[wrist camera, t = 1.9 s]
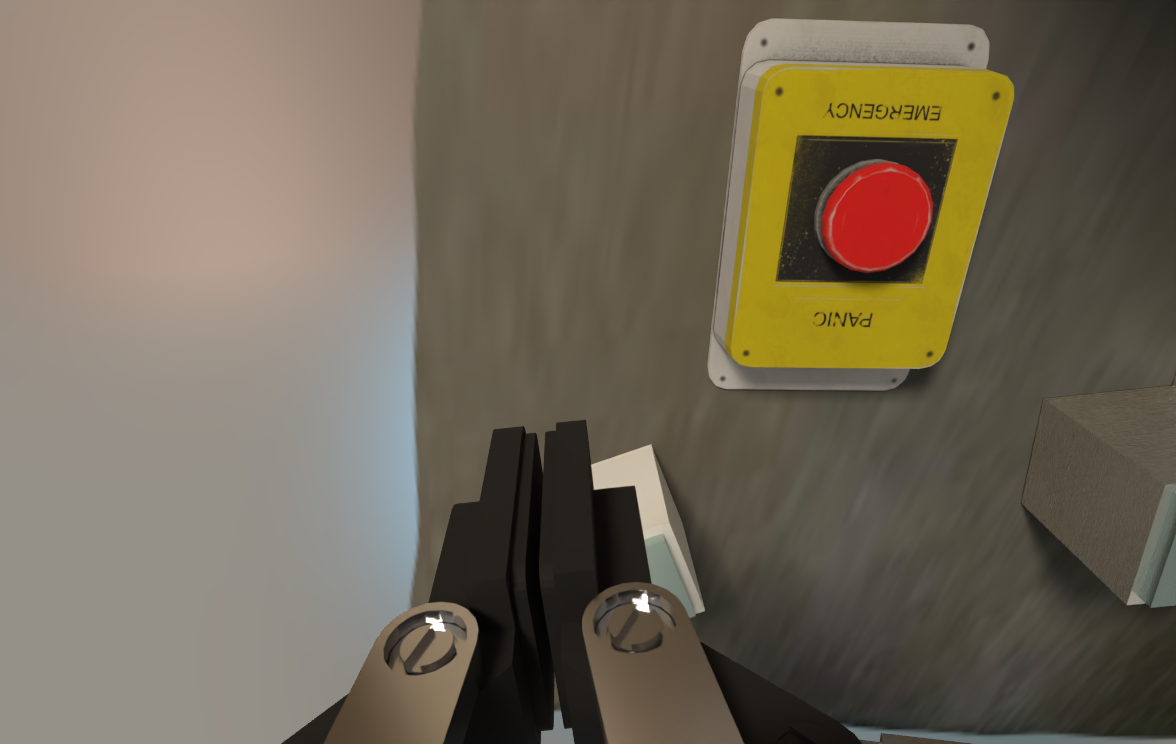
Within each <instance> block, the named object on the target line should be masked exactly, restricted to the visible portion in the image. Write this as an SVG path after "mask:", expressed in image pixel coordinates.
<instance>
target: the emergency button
mask: <svg viewBox="0 0 1176 744" xmlns="http://www.w3.org/2000/svg"><path fill="white" fill-rule="evenodd" d="M988 59H989V40H988V38H987V36H986V34H985V32H984V30H983V29H981V28H978V27H976V26H974V25H967V24H934V23H902V22H870V21H838V20H805V19H769V20H766V21H762V22H759V23H758V24H757V25H756V26H755V27H754V28H753V29H752V30H751V32H750V33H749V34H748V35H747V38H746V41H745V44H744V47H743V50H742V57H741V66H740V75H739V84H738V94H737V103H736V112H735V121H734V130H733V139H732V148H731V157H730V166H729V175H728V184H727V193H726V202H725V211H724V220H723V229H722V238H721V247H720V256H719V265H718V274H717V283H716V292H715V301H714V310H713V319H712V328H711V337H710V346H709V355H708V364H707V367H708V374H709V378H710V379H711V380H712V381H713V383H714V384H715V385H716V386H718V387H721V388H724V389H766V390H877V391H885V390H889V389H893V388H896V387H897V386H898V385H900V384H901V383H902V382H903V381H904V380H905V379H906V377H907V375H908V373H909V371H910V369H921V368H926V367H930V366H932V365H933V364H935V363H936V362H938V361H939V360H940V359H941V357H942V356H943V354H944V352H945V350H946V347H947V343H948V339H949V336H950V332H951V328H952V325H953V321H954V317H955V314H956V310H957V306H958V303H959V299H960V295H961V292H962V288H963V284H964V281H965V277H966V273H967V270H968V266H969V262H970V259H971V255H972V251H973V248H974V244H975V240H976V237H977V233H978V229H979V226H980V222H981V218H982V215H983V211H984V207H985V204H986V200H987V196H988V193H989V189H990V185H991V182H992V178H993V174H994V171H995V167H996V163H997V159H998V156H999V152H1000V148H1001V145H1002V141H1003V137H1004V134H1005V130H1006V126H1007V123H1008V119H1009V115H1010V112H1011V108H1012V104H1013V101H1014V85H1013V84H1012V82H1011V81H1010V80H1009V78H1008V77H1007V76H1005V75H1002V74H999V73H996V72H993V71H990V70H987V69H986V67H987V63H988Z"/></svg>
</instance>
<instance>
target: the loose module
mask: <svg viewBox="0 0 1176 744" xmlns="http://www.w3.org/2000/svg"><path fill="white" fill-rule="evenodd" d="M591 467H592V476H593V485H594V490H595V489H605V488H614V487H624V486H634V485H635V489H636V494H637V500H638V506H639V512H640V517H641V523H642V529H643V535H644V541H645V547H646V553H647V559H648V565H649V570H650V576H651V582H652V584H655V585H657V586H660V587H662V588H665V589H667V590H669V591H670V592H671V593H672V594H674V595H675V596H676V597H678V598H679V600H680V601H681V603H682V604H683V606H684V607H685V609H686V611H687V613H688V616H689V618H691V617H694V616H696V615H695V614H697V613H700V612H704V611H705V608H704V604H703V600H702V596H701V593H700V589H699V585H698V581H697V577H696V573H695V570H694V566H693V562H692V558H691V554H690V550H689V546H688V543H687V539H686V535H685V531H684V527H683V523H682V521H681V518H680V516H679V513H678V511H677V508H676V506H675V503H674V501H673V498H672V496H671V493H670V490H669V488H668V485H667V483H666V480H665V478H664V475H663V473H662V470H661V468H660V465H659V463H658V460H657V458H656V455H655V453H654V450H653V448H652V445H648V446H645V447H642V448H639V449H636V450H633V451H630V452H627V453H624V454H621V455H619V456H616V457H613V458H610V459H607V460H604V461H601V462H598V463H595V464H592V465H591Z"/></svg>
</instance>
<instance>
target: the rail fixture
mask: <svg viewBox="0 0 1176 744" xmlns="http://www.w3.org/2000/svg"><path fill="white" fill-rule="evenodd" d="M1021 503H1022V504H1023V505H1024V506H1025V507H1026V508H1027V509H1028V510H1029V511H1030V512H1031V513H1032V514H1033V515H1034V516H1035V517H1036V518H1037V519H1038V520H1039V521H1040V522H1041V523H1042V524H1043V525H1044V526H1045V527H1046V528H1047V529H1048V530H1049V531H1050V532H1051V533H1052V534H1054V535H1055V536H1056V537H1057V538H1058V539H1059V540H1060V541H1061V542H1062V543H1063V544H1064V545H1065V546H1066V547H1067V548H1068V549H1069V550H1070V551H1071V552H1072V553H1073V554H1074V555H1075V556H1076V557H1077V558H1078V559H1079V560H1080V561H1081V562H1082V563H1083V564H1085V565H1086V566H1087V567H1088V568H1089V569H1090V570H1091V571H1092V572H1093V573H1094V574H1095V575H1096V576H1097V577H1098V578H1099V579H1100V580H1101V581H1102V582H1103V583H1104V584H1105V585H1106V586H1107V587H1108V588H1109V589H1110V590H1111V591H1112V592H1113V593H1114V594H1116V595H1117V596H1118V597H1119V598H1120V599H1121V600H1122V601H1123V602H1124V603H1125V604H1126V605H1134V604H1144V603H1146V604H1147V605H1148V606H1149V607H1150V608H1154V607H1164V606H1174V605H1176V375H1175V378H1174V381H1173V385H1172V386H1162V387H1152V388H1143V389H1133V390H1123V391H1114V392H1104V393H1094V394H1085V395H1075V396H1065V397H1056V398H1046V399H1043V404H1042V409H1041V413H1040V418H1039V423H1038V427H1037V432H1036V437H1035V441H1034V446H1033V451H1032V455H1031V460H1030V464H1029V469H1028V474H1027V478H1026V483H1025V488H1024V492H1023V497H1022V502H1021Z"/></svg>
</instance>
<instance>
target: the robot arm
mask: <svg viewBox="0 0 1176 744" xmlns="http://www.w3.org/2000/svg"><path fill="white" fill-rule="evenodd" d="M554 671H555V677H556V683H557V689H558V695H559V701H560V707H561V712H562V718H563V724H564V728H565V729H566V728H572V730H573V737H574V743H575V744H969V743H961V742H953V741H944V740H935V739H927V738H918V737H910V736H901V735H893V734H884V733H881V737H880V742H873V741H865V740H859V739H858V738H857V737H856V736H855V734H854V733H852V732H851V731H849V730H848V729H847V728H846V727H844V726H843V725H842V724H840V723H839V722H838V721H836V720H834V719H832V718H831V717H829V716H827V715H826V714H824V713H822V712H820V711H819V710H817V709H815V708H813V707H812V706H810V705H808V704H807V703H805V702H803V701H801V700H800V699H798V698H796V697H795V696H793V695H791V694H789V693H788V692H786V691H784V690H782V689H781V688H779V687H777V686H776V685H774V684H772V683H770V682H769V681H767V680H765V679H763V678H762V677H760V676H758V675H757V674H755V673H753V672H751V671H750V670H748V669H746V668H745V667H743V666H741V665H739V664H738V663H736V662H734V661H732V660H731V659H729V658H727V657H726V656H724V655H722V654H720V653H719V652H717V651H715V650H714V649H712V648H710V647H708V646H707V645H705V644H703V643H701V642H700V641H699V639H698V636H697V634H696V632H695V629H694V627H693V625H692V623H691V620H690V618H689V616H688V613H687V611H686V609H685V607H684V606H683V604H682V603H681V601H680V600H679V598H678V597H676V596H675V595H674V594H672V593H671V592H670V591H669V590H667V589H665V588H662V587H660V586H657V585H655V584H652V582H651V576H650V570H649V565H648V559H647V553H646V547H645V541H644V535H643V529H642V523H641V517H640V512H639V506H638V500H637V494H636V489H635V485H634V486H624V487H614V488H605V489H595V490H594V485H593V476H592V467H591V459H590V450H589V442H588V433H587V425H586V420H579V421H569V422H560V423H556V431H549V432H545V450H544V471H542V465H541V458H540V452H539V445H538V439H537V434H536V433H529V434H526V431H525V428H524V426H522V427H512V428H503V429H494V430H493V434H492V439H491V444H490V450H489V455H488V460H487V465H486V471H485V476H484V481H483V486H482V491H481V497H480V501H479V502H469V503H460V504H455V505H454V506H453V509H452V511H451V515H450V519H449V523H448V527H447V531H446V535H445V539H444V543H443V547H442V551H441V555H440V559H439V563H438V567H437V571H436V575H435V579H434V583H433V587H432V591H431V595H430V599H429V603H426V604H423V605H420V606H417V607H414V608H411V609H409V610H408V611H406V612H404V613H402V614H401V615H399V616H397V617H396V618H395V619H394V620H392V621H391V622H390V623H389V624H388V625H387V626H386V627H385V628H384V629H383V630H382V632H381V633H380V635H379V636H378V638H377V639H376V641H375V643H374V645H373V647H372V649H371V650H370V652H369V654H368V657H367V658H366V660H365V662H364V664H363V667H362V668H361V670H360V672H359V675H358V676H357V678H356V680H355V682H354V684H353V686H352V688H351V690H350V692H349V694H347V695H346V696H345V697H343V698H342V699H341V700H339V701H338V702H337V703H335V704H334V705H333V706H331V707H330V708H328V709H327V710H326V711H325V712H323V713H322V714H321V715H319V716H318V717H316V718H315V719H314V720H312V721H311V722H310V723H308V724H307V725H306V726H304V727H303V728H302V729H300V730H299V731H298V732H296V733H295V734H294V735H292V736H291V737H290V738H288V739H287V740H286V741H284V742H283V743H282V744H541V731H546V730H553V726H554Z"/></svg>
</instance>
